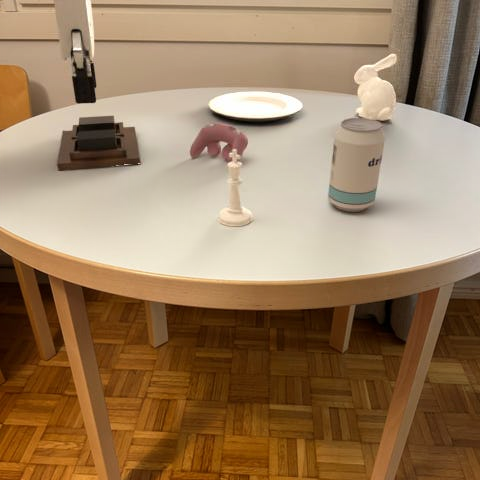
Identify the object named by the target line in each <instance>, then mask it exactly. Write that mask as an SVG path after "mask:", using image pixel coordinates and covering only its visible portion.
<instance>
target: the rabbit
mask: <svg viewBox="0 0 480 480" xmlns="http://www.w3.org/2000/svg"><path fill="white" fill-rule="evenodd" d="M397 61H398V56H397V54H396V53H390V54H389V55H388V56H386V57H384V58H382V59H380V60H379V61H377V62H376V63H373V64H365V65H362V66H360V67H359V68H358V69H357V71H356V72H355V73H354V76H353V77H354V82H355V83H356V84H358V88H357V97H358V99H359V101H360V102H361V105H360V107H357V108H356V110H355V113H356V114H358V117H359V118H366V119H372V120H375V121H379V122H383V121H387V120H389V119H391V118H392V117H393V115H394V112H395V108H396V104H397V96H396V92H395V89H394V85H392V84H391V83H390V82H389V81H388V80H383V79H381V77H379V76H378V75H379V74H378V72H379V71H381V70H384V69H387V68H391V67H392V66H394V65H395V64H396V63H397Z"/></svg>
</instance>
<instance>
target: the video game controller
mask: <svg viewBox="0 0 480 480" xmlns="http://www.w3.org/2000/svg"><path fill="white" fill-rule="evenodd" d="M221 142H223V143H225V144H226V145H224V147H222V146H221ZM248 143H249V140H248V136H247V134H245V133H244V132H242V131H241V130H240V129H238V128H236V127H235V126H232V125H230V124H226V123H219V122H218V123H210V124H209V123H205V125H204V127H202V128H201V129H200V130H199V132H198V133H197V135H196V138H195V139H194V141H193V142H192V143H191V146H190V149H189V155H190V157H191V158H192V159H195V158H197V157H199V156H200V155H201V154H202V153H203V152H204V150H205V149H207V153H208V155H210V156H212V157H218V156H219V155H220V154H221V156H222V158H223V159H225V160H227V164H228V163H229V162H232V157H229V153H232V150H233V149H236V150H237V155H240V156H241V158H242V157H243V154H244V152H245V150H246V149H247V147H248ZM240 160H241V159H239V160H238V159H237V162H240Z"/></svg>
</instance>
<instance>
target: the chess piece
mask: <svg viewBox="0 0 480 480" xmlns="http://www.w3.org/2000/svg"><path fill="white" fill-rule="evenodd" d="M229 157H232V162H229V163H228V162H227V166H226V167H227V169H228V172H229V174H230V178H228V179H227V181H226V183H227V184H228V185H231V187H230V195H229V197H230V198H229V204H228V206H227V207H224V208H223V209H220V211H218V214H217V221H218V222H219V224H222V225H223V226H227V227H243V226H246V225H248V224H250V223H251V222H252V221H253V216H252V211H250V210H249V209H247V208H245V207H243V205H241V197H240V189H239V187H240V186H239V185H242V184H243V183H244V182H243V179H242V178H241V177H240V174H241V171H242V168H243V163H242V162H240V161H239V162H237V159H238V160H239V159H240V160H241V158H242V157H241V156H240V155H237V150H236V149H233V150H232V153H229Z"/></svg>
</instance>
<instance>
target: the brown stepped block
mask: <svg viewBox="0 0 480 480" xmlns="http://www.w3.org/2000/svg"><path fill="white" fill-rule="evenodd" d="M111 129H115V134H116V142H117V149H108V150H93V151H79V148H78V143H77V135H78V132H79V131H95V130H111ZM59 145H60V146H59V148H58V149H59V151H58V156H57V162H56V167H57V171H72V170H84V169H85V170H87V169H98V168H109V167H108V166H114V167H117V166H116V165H124V164H138V163H141V156H140V155H141V154H140V149H139V144H138V137H137V132H136V126H124V122H122V121H121V122H115V115H100V116H98V115H97V116H83V117H82V116H81V117H79V118H78V124H72V130H62V133H61V139H60V144H59ZM141 164H142V163H141Z"/></svg>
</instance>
